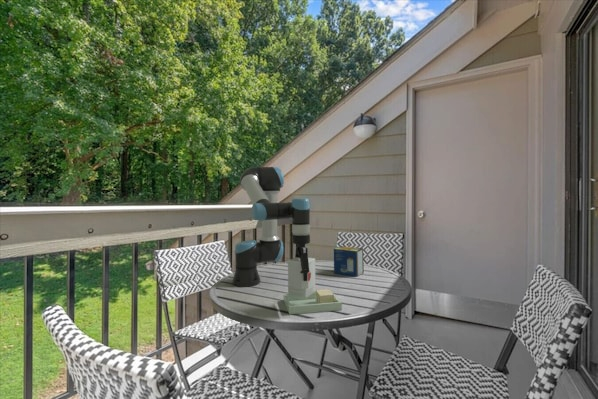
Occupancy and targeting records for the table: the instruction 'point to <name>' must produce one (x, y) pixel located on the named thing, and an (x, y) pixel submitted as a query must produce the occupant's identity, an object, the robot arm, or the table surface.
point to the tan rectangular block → (324, 296)
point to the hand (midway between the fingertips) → (301, 284)
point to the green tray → (309, 304)
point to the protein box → (348, 261)
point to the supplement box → (295, 278)
